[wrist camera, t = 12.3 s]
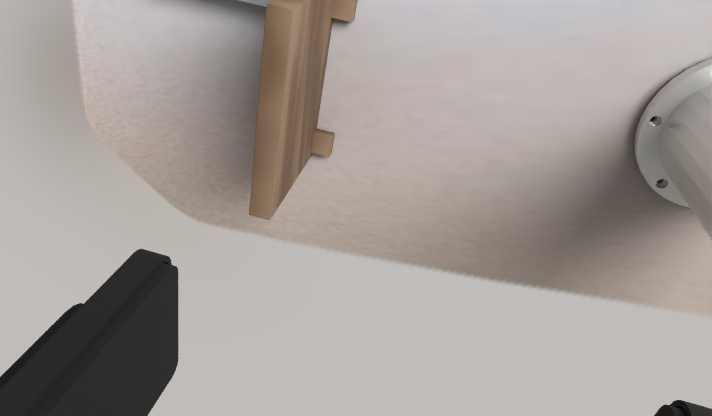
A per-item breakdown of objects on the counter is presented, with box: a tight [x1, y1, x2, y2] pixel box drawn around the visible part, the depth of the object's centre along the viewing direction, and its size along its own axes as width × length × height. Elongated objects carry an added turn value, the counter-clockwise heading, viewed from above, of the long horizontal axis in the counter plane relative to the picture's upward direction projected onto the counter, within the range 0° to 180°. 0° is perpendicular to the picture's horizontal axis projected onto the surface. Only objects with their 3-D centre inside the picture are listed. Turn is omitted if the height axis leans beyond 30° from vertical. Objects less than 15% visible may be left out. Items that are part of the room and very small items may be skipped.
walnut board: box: [249, 0, 357, 220], centre depth 40 cm, size 5×15×12 cm, turn 170°
